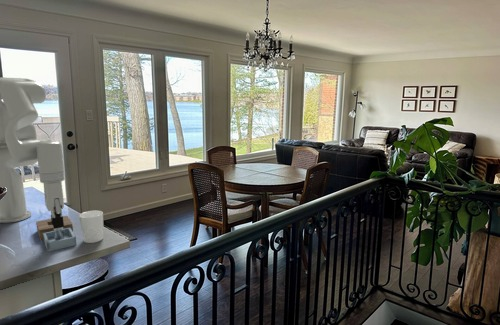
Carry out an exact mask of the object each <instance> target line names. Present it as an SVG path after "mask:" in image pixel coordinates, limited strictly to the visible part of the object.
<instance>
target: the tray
mask: <svg viewBox="0 0 500 325" xmlns="http://www.w3.org/2000/svg"><path fill="white" fill-rule="evenodd" d="M63 231H64V239H61V240H57V241H55V237H54V231H51V232H46V233H43V238H44V240H43V242H44V245H45V248H46V251H47V252H53V251H57V250H61V249H64V248H69V247H74V246H77V237H76V234H75V233H74V230H73V231H72V230H71V228H65V229H63Z"/></svg>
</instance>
